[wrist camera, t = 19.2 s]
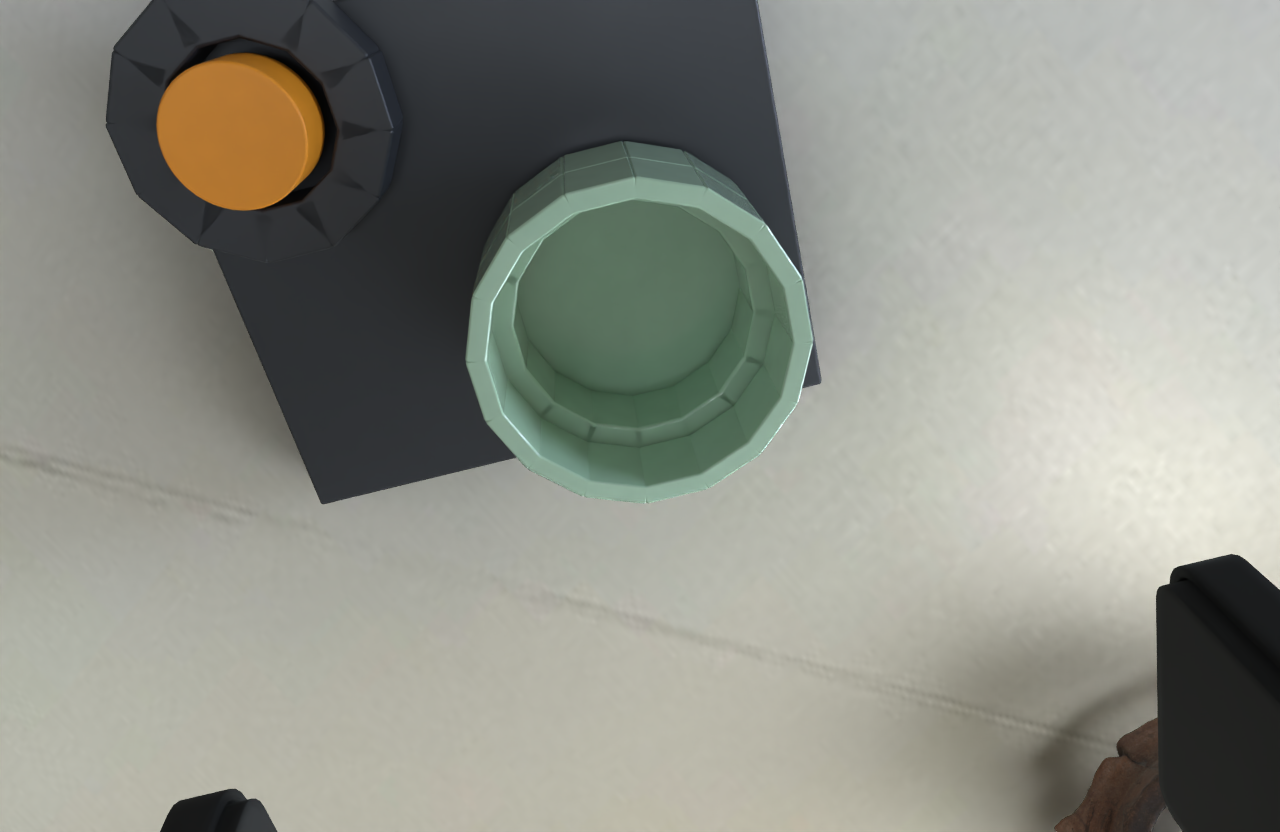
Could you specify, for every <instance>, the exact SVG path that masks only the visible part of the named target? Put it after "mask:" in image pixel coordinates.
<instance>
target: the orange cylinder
mask: <svg viewBox="0 0 1280 832" xmlns="http://www.w3.org/2000/svg"><path fill="white" fill-rule="evenodd" d="M156 127H157V137H158V141H159V146H160V149H161V151H162V154H163V157H164V159H165V161H166V162H167V164H168V166H169V168H170V169H171V171H172V172H173V174H174V175H175V176H176V177H177V178H178V180H179V181H180V182H181V183H182V184H183V185H184V186H185V187H186V188H187V189H189V190H190V191H191V192H192V193H194V194H195V195H196V196H198V197H200V198H201V199H203V200H205V201H207V202H209V203H211V204H213V205H216V206H219V207H222V208H227V209H232V210H242V211H244V210H256V209H261V208H264V207H267V206H270V205H272V204H274V203H277V202H278V201H280V200H281V199H283V198H284V197H286V196H287V195H288V194H289V193H290V192H291V191H292V190H293V189H294V188H295V187H297V186H298V185H299V184H300V183H301V182H302V181H303V180H304V179H305V178H306V177H307V176H308V175H309V174H310V173H311V172H312V171H313V169H314V168H315V166H316V165H317V163H318V161H319V159H320V156H321V154H322V150H323V146H324V139H325V126H324V119H323V115H322V112H321V108H320V106H319V103H318V101H317V99H316V97H315V95H314V94H313V92H312V90H311V89H310V88H309V86H308V85H307V84H306V82H305V81H304V80H303V79H302V78H301V77H300V76H299V75H298V74H297V73H295V72H294V71H293V70H292V69H291V68H289V67H288V66H286V65H285V64H283V63H281V62H279V61H277V60H275V59H273V58H270V57H267V56H264V55H260V54H256V53H233V54H228V55H224V56H221V57H218V58H215V59H212V60H209V61H206V62H203V63H200V64H197V65H194V66H192V67H190V68H189V69H187V70H185V71H184V72H182V73H181V74H179V75H178V76H177V77H176V78H175V79H174V80H173V81H172V82H171V83H170V85H169V86H168V87H167V89H166V90H165V92H164V94H163V96H162V98H161V101H160V104H159V107H158V112H157V123H156Z"/></svg>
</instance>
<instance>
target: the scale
mask: <svg viewBox="0 0 1280 832" xmlns="http://www.w3.org/2000/svg"><path fill="white" fill-rule="evenodd" d="M113 49H114V51H113V52H112V58H111V69H110V80H109V91H108V102H107V113H106V122H107V124H106V128H107V130H108V132H109V135H110V137H111V139H112V141H113V144H114V146H115V148H116V150H117V152H118V155H119V157H120V159H121V161H122V164H123V166H124V168H125V170H126V172H127V175H128V177H129V179H130V181H131V184H132V186H133V188H134V190H135V193H136V194H137V195H138V196H139V197H140V198H141V199H142V200H143V201H144V202H146V203H147V204H148V205H149V206H150V207H152V208H153V209H154V210H155V211H156V212H157V213H159V214H160V215H161V216H162V217H163V218H165V219H166V220H167V221H168V222H169V223H171V224H172V225H173V226H174V227H175V228H177V229H178V230H179V231H180V232H181V233H182V234H184V235H185V236H186V237H187V238H188V239H190V240H191V241H192V242H193V243H194V244H198V245H199V246H201V247H205V248H209V249H213V251H214V253H215V256H216V258H217V260H218V263H219V265H220V267H221V270H222V272H223V274H224V277H225V279H226V281H227V284H228V286H229V288H230V291H231V293H232V295H233V298H234V300H235V302H236V305H237V307H238V309H239V312H240V314H241V317H242V319H243V321H244V324H245V326H246V328H247V331H248V333H249V335H250V338H251V340H252V342H253V345H254V347H255V349H256V352H257V354H258V356H259V359H260V361H261V363H262V366H263V368H264V370H265V373H266V375H267V377H268V380H269V382H270V384H271V387H272V389H273V392H274V394H275V396H276V399H277V401H278V403H279V406H280V408H281V410H282V413H283V415H284V417H285V420H286V422H287V424H288V427H289V429H290V431H291V434H292V436H293V438H294V441H295V443H296V445H297V448H298V450H299V452H300V455H301V457H302V459H303V462H304V464H305V467H306V469H307V471H308V474H309V476H310V478H311V481H312V483H313V485H314V488H315V490H316V492H317V495H318V497H319V499H320V502H321V503H322V504H327V503H331V502H335V501H339V500H343V499H347V498H351V497H355V496H360V495H364V494H368V493H372V492H376V491H380V490H384V489H388V488H393V487H397V486H401V485H405V484H409V483H413V482H417V481H421V480H426V479H430V478H434V477H438V476H442V475H446V474H450V473H454V472H459V471H463V470H467V469H471V468H475V467H479V466H483V465H487V464H492V463H496V462H500V461H504V460H508V459H512V458H516V456H515V455H514V454H513V453H512V452H511V450H510V449H509V448H508V447H507V446H506V445H505V444H504V443H503V442H502V440H501V439H500V438H499V437H498V436H497V435H496V434H495V433H494V431H493V430H492V429H491V428H490V427H489V426H488V425H487V423H486V421H485V420H484V417H483V414H482V411H481V408H480V405H479V402H478V399H477V396H476V393H475V390H474V387H473V384H472V381H471V378H470V375H469V372H468V369H467V366H466V360H465V356H466V346H467V336H468V326H469V316H470V307H471V298H472V294H473V290H474V285H475V281H476V277H477V273H478V269H479V265H480V261H481V257H482V253H483V249H484V245H485V242H486V240H487V238H488V237H489V235H490V233H491V231H492V230H493V228H494V226H495V224H496V223H497V221H498V219H499V217H500V216H501V214H502V212H503V210H504V209H505V207H506V205H507V203H508V202H509V200H510V198H511V196H512V195H513V194H515V192H516V191H517V190H518V189H519V188H521V187H522V186H523V185H525V184H526V183H527V182H529V181H530V180H531V179H532V178H534V177H535V176H536V175H538V174H539V173H540V172H542V171H543V170H544V169H546V168H547V167H548V166H550V165H551V164H552V163H554V162H555V161H556V160H558V159H559V158H561V157H563V156H565V155H567V154H571V153H575V152H579V151H583V150H587V149H591V148H595V147H599V146H603V145H607V144H611V143H615V142H619V141H622V142H624V141H629V142H635V143H642V144H648V145H655V146H661V147H667V148H674V149H680V150H682V151H683V152H684V151H686V152H688V153H689V154H691V155H693V156H694V157H696V158H697V159H699V160H701V161H702V162H704V163H705V164H707V165H708V166H710V167H712V168H713V169H715V170H716V171H718V172H720V173H721V174H723V175H724V176H726V177H728V178H729V179H731V180H732V181H733V182H734V183H735V184H736V185H737V186H738V187H739V189H740V190H741V191H742V193H743V194H744V195H745V197H746V198H747V199H748V201H749V202H750V203H751V205H752V206H753V207H754V209H755V210H756V211H757V213H758V214H759V215H760V217H761V218H762V219H763V221H764V222H765V223H766V225H767V226H768V227H769V229H770V230H771V232H772V233H773V235H774V236H775V238H776V239H777V241H778V242H779V244H780V245H781V247H782V248H783V250H784V251H785V253H786V254H787V256H788V257H789V259H790V260H791V262H792V263H793V265H794V266H795V267H796V269H797V270H798V272H799V273H800V275H801V277H802V280H803V282H804V288H805V294H806V300H807V306H808V312H809V317H810V323H811V329H812V335H813V346H812V350H811V354H810V358H809V362H808V366H807V370H806V374H805V378H804V382H803V386H802V388H805V387H809V386H813V385H817V384H820V383H821V374H820V368H819V362H818V356H817V350H816V344H815V338H814V333H813V327H812V321H811V315H810V309H809V303H808V297H807V291H806V285H805V279H804V273H803V267H802V261H801V255H800V250H799V244H798V238H797V232H796V226H795V220H794V214H793V208H792V202H791V196H790V190H789V184H788V178H787V172H786V167H785V161H784V155H783V149H782V143H781V137H780V131H779V125H778V119H777V113H776V107H775V101H774V95H773V89H772V83H771V78H770V72H769V66H768V60H767V54H766V48H765V42H764V36H763V30H762V24H761V18H760V12H759V6H758V0H333V1H332V0H152V1H151V2H150V3H149V5H148V6H147V7H146V8H145V9H144V11H143V12H142V13H141V14H140V15H139V17H138V18H137V19H136V20H135V21H134V23H133V24H132V25H131V26H130V27H129V29H128V30H127V31H126V32H125V33H124V35H123V36H122V37H121V38H120V39H119V41H118V42H117V43H116V44H115V46H114V48H113ZM233 53H256V54H260V55H264V56H267V57H270V58H273V59H275V60H277V61H279V62H281V63H283V64H285V65H286V66H288V67H289V68H291V69H292V70H293V71H294V72H295V73H297V74H298V75H299V76H300V77H301V78H302V79H303V80H304V81H305V82H306V84H307V85H308V86H309V88H310V89H311V90H312V92H313V94H314V95H315V97H316V99H317V101H318V103H319V106H320V108H321V112H322V115H323V119H324V126H325V139H324V146H323V150H322V154H321V156H320V159H319V161H318V163H317V165H316V166H315V168H314V169H313V171H312V172H311V173H310V174H309V175H308V176H307V177H306V178H305V179H304V180H303V181H302V182H301V183H300V184H299V185H298V186H297V187H295V188H294V189H293V190H292V191H291V192H290V193H289V194H288V195H287V196H286V197H284V198H283V199H281V200H280V201H278V202H277V203H274V204H272V205H270V206H267V207H264V208H261V209H256V210H244V211H242V210H232V209H227V208H222V207H219V206H216V205H213V204H211V203H209V202H207V201H205V200H203V199H201V198H200V197H198V196H196V195H195V194H194V193H192V192H191V191H190V190H189V189H187V188H186V187H185V186H184V185H183V184H182V183H181V182H180V181H179V180H178V178H177V177H176V176H175V175H174V174H173V172H172V171H171V169H170V168H169V166H168V164H167V162H166V161H165V159H164V157H163V154H162V151H161V149H160V146H159V141H158V137H157V127H156V123H157V112H158V107H159V104H160V101H161V98H162V96H163V94H164V92H165V90H166V89H167V87H168V86H169V85H170V83H171V82H172V81H173V80H174V79H175V78H176V77H177V76H178V75H179V74H181V73H182V72H184V71H185V70H187V69H189V68H190V67H192V66H194V65H197V64H200V63H203V62H206V61H209V60H212V59H215V58H218V57H221V56H224V55H228V54H233Z"/></svg>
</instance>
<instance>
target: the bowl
mask: <svg viewBox="0 0 1280 832" xmlns="http://www.w3.org/2000/svg"><path fill="white" fill-rule="evenodd" d="M812 346H813V335H812V329H811V323H810V317H809V312H808V306H807V300H806V294H805V288H804V282H803V280H802V277H801V275H800V273H799V272H798V270H797V269H796V267H795V266H794V265H793V263H792V262H791V260H790V259H789V257H788V256H787V254H786V253H785V251H784V250H783V248H782V247H781V245H780V244H779V242H778V241H777V239H776V238H775V236H774V235H773V233H772V232H771V230H770V229H769V227H768V226H767V225H766V223H765V222H764V221H763V219H762V218H761V217H760V215H759V214H758V213H757V211H756V210H755V209H754V207H753V206H752V205H751V203H750V202H749V201H748V199H747V198H746V197H745V195H744V194H743V193H742V191H741V190H740V189H739V187H738V186H737V185H736V184H735V183H734V182H733V181H732V180H731V179H729V178H728V177H726V176H724V175H723V174H721V173H720V172H718V171H716V170H715V169H713V168H712V167H710V166H708V165H707V164H705V163H704V162H702V161H701V160H699V159H697V158H696V157H694V156H693V155H691V154H689V153H688V152H686V151H684V152H683V151H682V150H680V149H674V148H667V147H661V146H655V145H648V144H642V143H635V142H629V141H624V142H622V141H619V142H615V143H611V144H607V145H603V146H599V147H595V148H591V149H587V150H583V151H579V152H575V153H571V154H567V155H565V156H563V157H561V158H559V159H558V160H556V161H555V162H554V163H552V164H551V165H550V166H548V167H547V168H546V169H544V170H543V171H542V172H540V173H539V174H538V175H536V176H535V177H534V178H532V179H531V180H530V181H529V182H527V183H526V184H525V185H523V186H522V187H521V188H519V189H518V190H517V191H516V192H515V194H513V195H512V196H511V198H510V200H509V202H508V203H507V205H506V207H505V209H504V210H503V212H502V214H501V216H500V217H499V219H498V221H497V223H496V224H495V226H494V228H493V230H492V231H491V233H490V235H489V237H488V238H487V240H486V242H485V245H484V249H483V253H482V257H481V261H480V265H479V269H478V273H477V277H476V281H475V285H474V290H473V294H472V298H471V307H470V316H469V326H468V336H467V346H466V356H465V360H466V366H467V369H468V372H469V375H470V378H471V381H472V384H473V387H474V390H475V393H476V396H477V399H478V402H479V405H480V408H481V411H482V414H483V417H484V420H485V421H486V423H487V425H488V426H489V427H490V428H491V429H492V430H493V431H494V433H495V434H496V435H497V436H498V437H499V438H500V439H501V440H502V442H503V443H504V444H505V445H506V446H507V447H508V448H509V449H510V450H511V452H512V453H513V454H514V455H515V456H516V457H517V458H518V459H519V461H520V462H521V463H522V464H523V465H524V466H525V467H526V468H528V469H529V470H530V471H532V472H534V473H536V474H538V475H540V476H542V477H544V478H546V479H548V480H550V481H552V482H554V483H556V484H558V485H560V486H562V487H564V488H566V489H568V490H570V491H572V492H574V493H576V494H578V495H580V496H584V497H587V498H597V499H606V500H615V501H625V502H634V503H643V504H644V503H652V502H656V501H660V500H664V499H668V498H673V497H677V496H681V495H685V494H689V493H693V492H698V491H702V490H706V489H707V488H710V487H712V486H713V485H715V484H716V483H718V482H719V481H721V480H722V479H724V478H725V477H727V476H729V475H730V474H732V473H733V472H735V471H736V470H738V469H739V468H741V467H742V466H744V465H745V464H747V463H748V462H750V461H751V460H753V459H754V458H756V457H757V456H759V455H760V453H762V452H763V451H764V449H765V448H766V447H767V445H768V444H769V443H770V441H771V440H772V438H773V437H774V436H775V434H776V433H777V432H778V430H779V429H780V427H781V426H782V425H783V423H784V422H785V421H786V419H787V418H788V416H789V415H790V414H791V412H792V411H793V410H794V408H795V407H796V405H797V402H798V401H799V398H800V394H801V390H802V386H803V382H804V378H805V374H806V370H807V366H808V362H809V358H810V354H811V350H812Z"/></svg>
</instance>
